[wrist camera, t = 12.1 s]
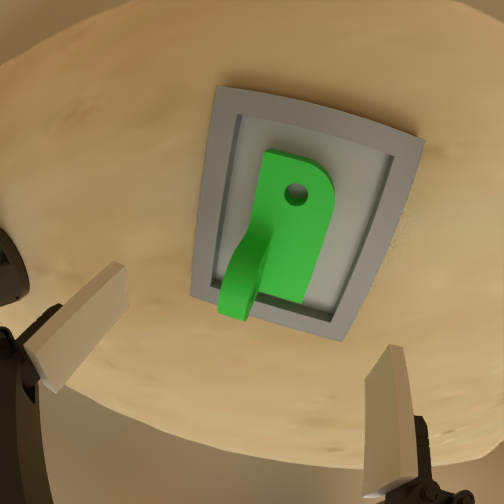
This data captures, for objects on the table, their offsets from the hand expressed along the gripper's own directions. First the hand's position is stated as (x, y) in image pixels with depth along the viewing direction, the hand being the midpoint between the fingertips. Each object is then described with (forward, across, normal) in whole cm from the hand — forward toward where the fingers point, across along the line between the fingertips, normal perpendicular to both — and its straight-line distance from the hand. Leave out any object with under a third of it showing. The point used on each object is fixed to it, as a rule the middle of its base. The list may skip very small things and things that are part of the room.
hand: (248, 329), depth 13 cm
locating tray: (+14, +1, 0) cm, 14 cm away
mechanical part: (+14, 0, 0) cm, 14 cm away
